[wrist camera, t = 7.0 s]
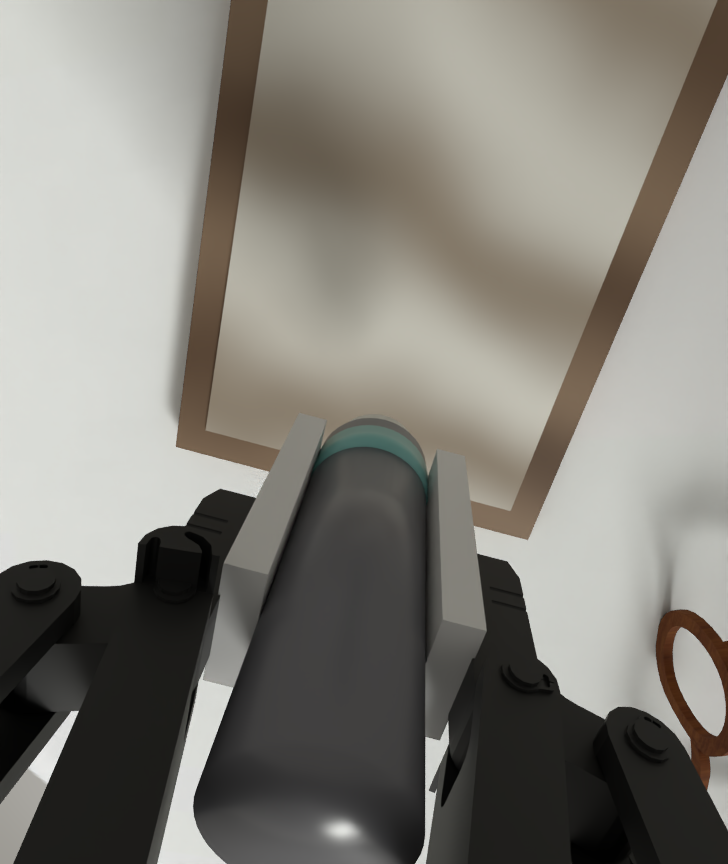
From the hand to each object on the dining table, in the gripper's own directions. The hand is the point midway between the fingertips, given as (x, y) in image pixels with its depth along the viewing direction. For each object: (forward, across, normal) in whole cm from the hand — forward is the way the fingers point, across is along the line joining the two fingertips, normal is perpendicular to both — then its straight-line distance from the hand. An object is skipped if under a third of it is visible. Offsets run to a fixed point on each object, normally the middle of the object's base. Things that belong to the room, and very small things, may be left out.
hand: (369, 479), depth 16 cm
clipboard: (+5, 0, -7) cm, 9 cm away
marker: (+2, 0, 0) cm, 2 cm away
